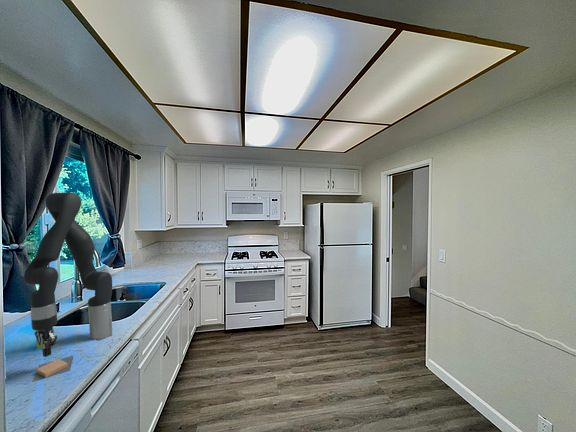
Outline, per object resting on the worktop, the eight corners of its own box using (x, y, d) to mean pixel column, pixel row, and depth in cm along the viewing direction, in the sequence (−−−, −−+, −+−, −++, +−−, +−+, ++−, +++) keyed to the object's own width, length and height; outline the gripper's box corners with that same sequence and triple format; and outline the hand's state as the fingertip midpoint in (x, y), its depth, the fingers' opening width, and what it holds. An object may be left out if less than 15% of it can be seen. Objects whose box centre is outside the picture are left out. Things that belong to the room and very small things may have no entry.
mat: (73, 356, 111) (73, 355, 111) (70, 371, 101) (69, 370, 101) (39, 366, 105) (39, 364, 105) (31, 383, 95) (31, 382, 95)
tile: (36, 368, 100) (45, 374, 97) (58, 358, 106) (67, 363, 103) (37, 372, 100) (45, 377, 97) (59, 362, 106) (67, 366, 103)
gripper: (24, 315, 101) (27, 356, 103) (40, 322, 96) (43, 365, 97) (47, 308, 108) (50, 346, 109) (64, 314, 103) (66, 354, 104)
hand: (47, 355), depth 103 cm, fingers closed
